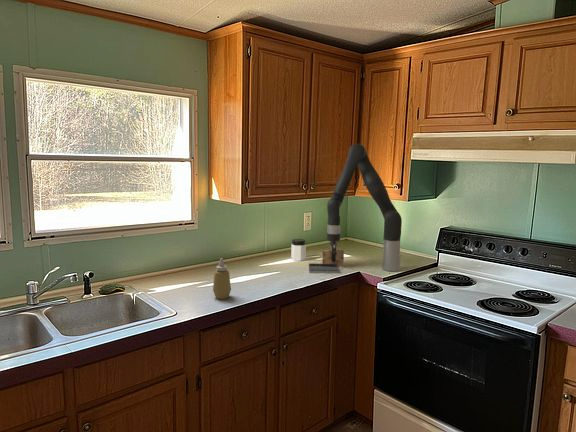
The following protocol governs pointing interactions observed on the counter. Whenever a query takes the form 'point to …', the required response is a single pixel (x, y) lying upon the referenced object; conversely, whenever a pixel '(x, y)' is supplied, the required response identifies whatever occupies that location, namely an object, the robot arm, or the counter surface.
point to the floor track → (323, 268)
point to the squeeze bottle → (221, 281)
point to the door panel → (328, 257)
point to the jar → (298, 250)
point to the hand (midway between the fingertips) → (332, 259)
